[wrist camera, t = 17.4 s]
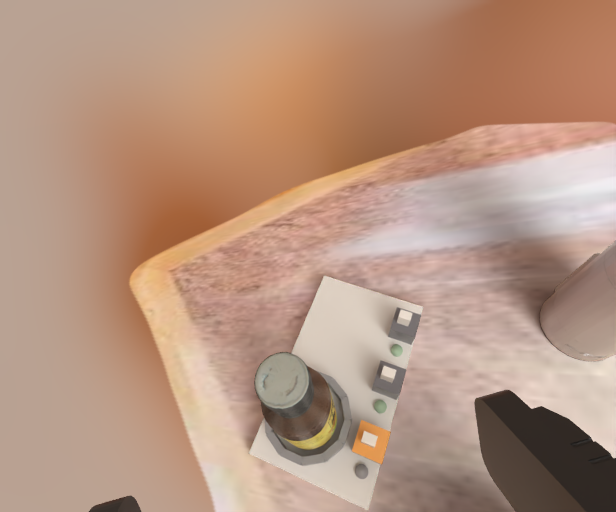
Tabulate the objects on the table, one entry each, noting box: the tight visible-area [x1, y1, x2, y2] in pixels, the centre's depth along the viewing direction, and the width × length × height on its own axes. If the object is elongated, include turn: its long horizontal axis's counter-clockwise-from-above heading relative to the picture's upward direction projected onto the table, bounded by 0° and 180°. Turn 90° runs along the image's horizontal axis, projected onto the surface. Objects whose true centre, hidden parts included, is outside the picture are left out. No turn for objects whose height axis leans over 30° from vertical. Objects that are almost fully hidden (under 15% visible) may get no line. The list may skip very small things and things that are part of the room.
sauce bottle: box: [254, 352, 337, 450], centre depth 34 cm, size 6×6×20 cm
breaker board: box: [249, 276, 423, 511], centre depth 44 cm, size 24×14×7 cm, turn 158°
